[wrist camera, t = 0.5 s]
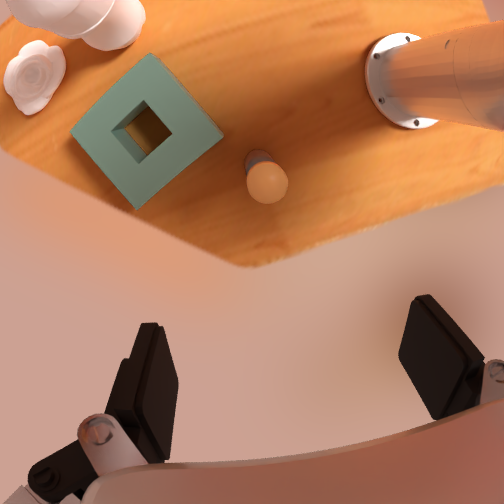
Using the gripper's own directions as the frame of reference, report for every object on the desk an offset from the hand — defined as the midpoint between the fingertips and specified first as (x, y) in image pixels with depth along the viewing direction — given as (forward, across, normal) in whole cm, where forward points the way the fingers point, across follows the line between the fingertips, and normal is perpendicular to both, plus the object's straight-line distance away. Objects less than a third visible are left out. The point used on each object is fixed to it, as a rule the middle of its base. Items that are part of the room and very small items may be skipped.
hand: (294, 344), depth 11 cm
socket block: (+28, +11, -7) cm, 31 cm away
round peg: (+28, -1, -2) cm, 28 cm away
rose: (+29, +26, -18) cm, 43 cm away
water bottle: (+29, +14, -21) cm, 38 cm away
